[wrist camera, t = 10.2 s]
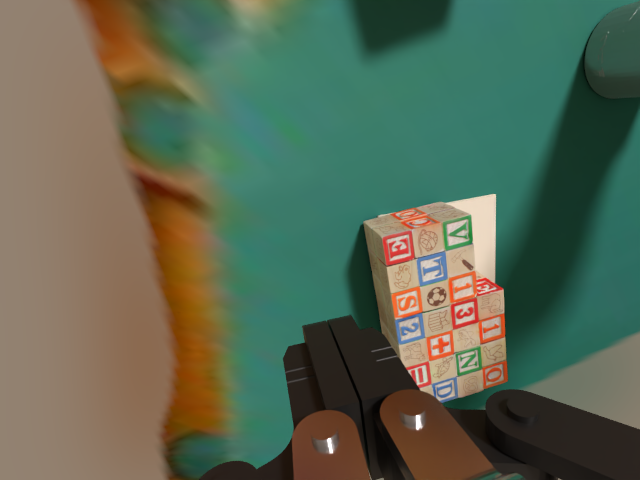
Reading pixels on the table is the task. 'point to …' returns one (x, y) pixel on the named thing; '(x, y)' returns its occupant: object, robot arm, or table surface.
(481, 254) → the mat
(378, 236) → the stack of blocks
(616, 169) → the table surface
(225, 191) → the table surface
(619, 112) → the table surface
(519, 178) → the table surface
